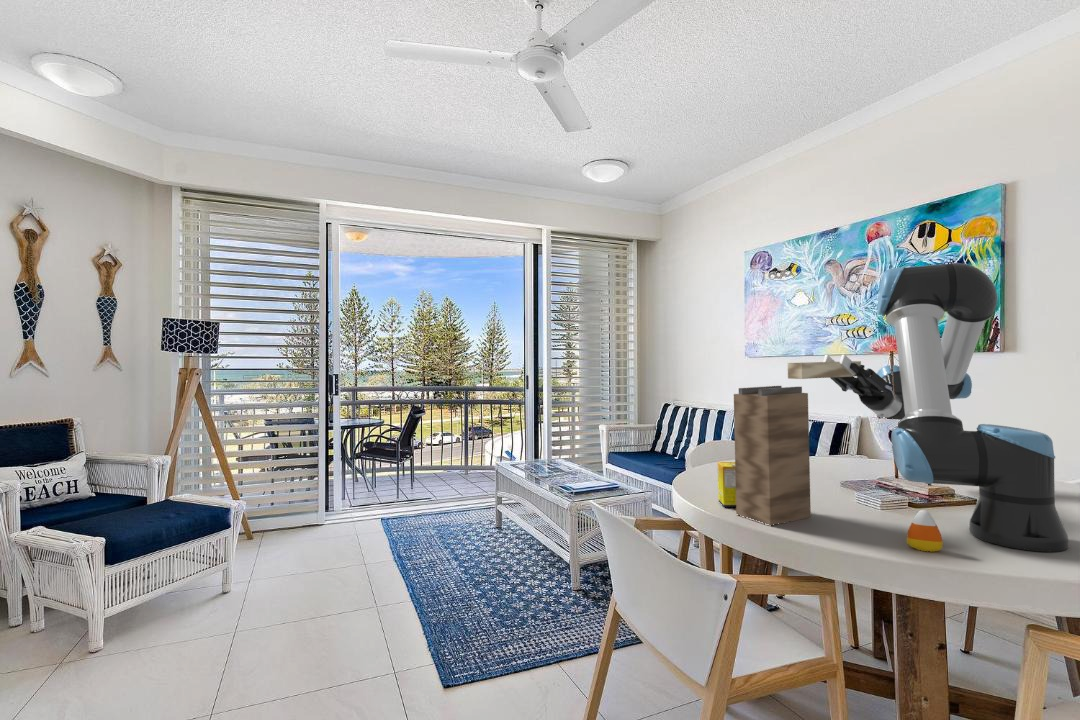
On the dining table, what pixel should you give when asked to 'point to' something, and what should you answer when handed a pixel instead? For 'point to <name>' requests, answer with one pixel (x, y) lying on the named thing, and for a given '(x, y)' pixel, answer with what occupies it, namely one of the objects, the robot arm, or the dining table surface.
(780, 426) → the walnut stand
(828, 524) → the dining table surface
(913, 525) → the candy corn
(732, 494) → the supplement box
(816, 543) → the dining table surface
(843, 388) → the robot arm
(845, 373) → the maple bar
